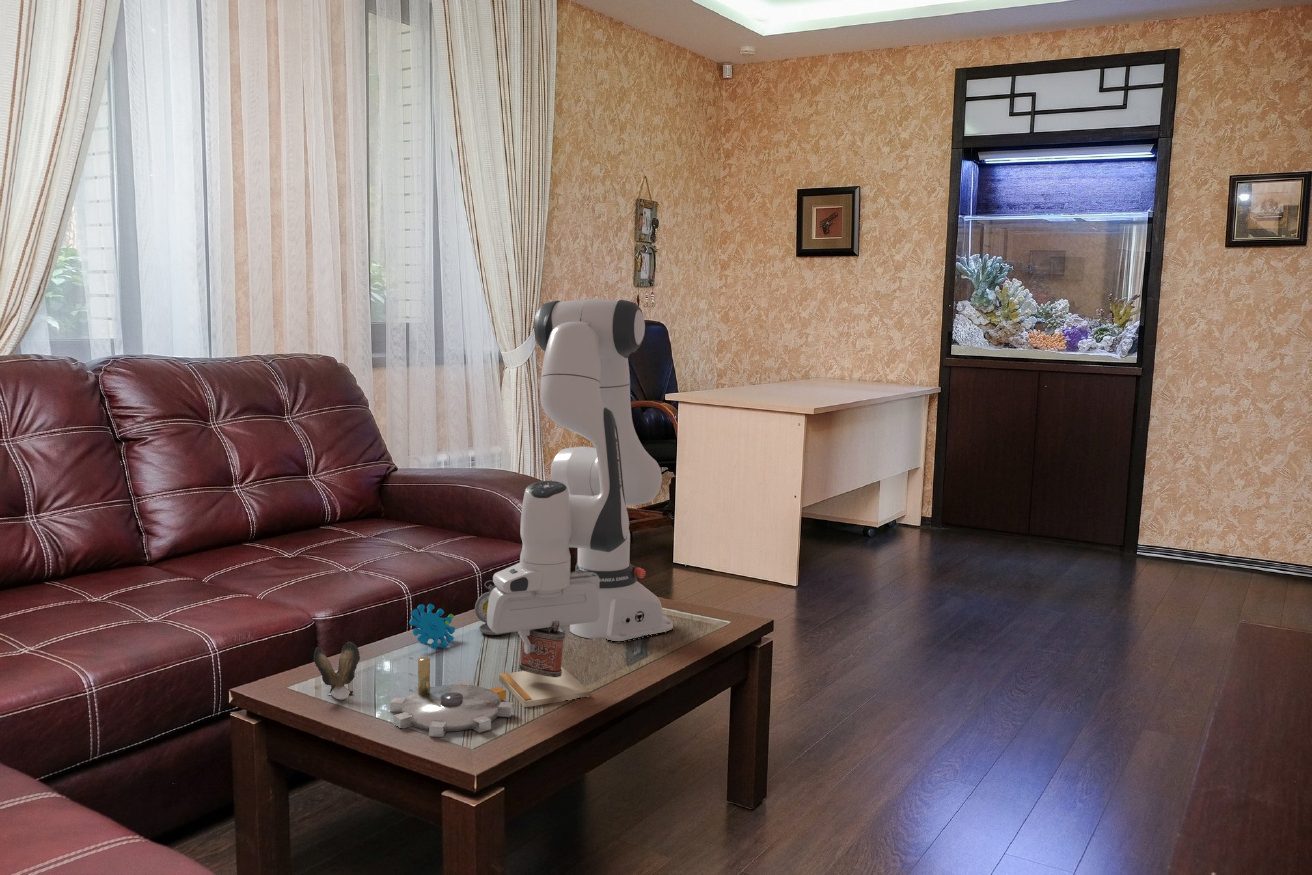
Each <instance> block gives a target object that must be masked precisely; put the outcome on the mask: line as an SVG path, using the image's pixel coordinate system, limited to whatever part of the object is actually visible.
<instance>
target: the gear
mask: <svg viewBox="0 0 1312 875" xmlns="http://www.w3.org/2000/svg"><path fill="white" fill-rule="evenodd" d="M425 609H426V610H427V611H426V612H425ZM434 609H435V605H434V604H432V603H428V605H427V606H425V605H424V604H419V605H418V606H417V608H415V609H413V610H412V611H411V612H410V615H411V616H412V617H411V618H410V620H409V623H408V624H409V625H410V626H414V627H415V628H413V629H412V634H413V635H414V636H415V637H416V636H417V638H416V639H417V641H418V642H421V643H422V644H423V645H426V644H427V643H428V642H429V640H430V639H431V640H433V641H432V642H431V643H430V648H432V649H434V650H436V649H437V648H438V647H440V648H441V649H445V648H447V647H448V645H449V644H450V643H451V642H453V641H454V640H455V637H454V636H453V634H454V633H455V631H456V628H455V627H454V626H452V625H451V626H450V624H451V623H452V621H453V619H454V617H455V616H454V614H452V613H450V614H448V616H447V617H441V616H443V615H444V614H445V610H443V608H438V609H437V611H436V612H435V613H433V612H432V611H434ZM439 640H440V644H439V642H438V641H439Z"/></svg>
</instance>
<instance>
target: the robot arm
mask: <svg viewBox="0 0 1312 875" xmlns="http://www.w3.org/2000/svg"><path fill="white" fill-rule="evenodd" d="M645 329H646V323H645V318H644V315H643V311H642V308H641V307H640V306H639V305H638V304H637V303H636V302H634V301H630V300H626V299H619V300H613V299H605V298H587V299H573V300H564V301H560V300H554V301H553V300H552V301H549V302H545V303H543V304H542V305H541V306H540V307H539V309H537V311H536V312H535V317H534V324H533V331H534V339H535V341H536V344H537V345H538V346H539V348H540V349H541V350H542V351H543V352H544V356H543V360H542V361H543V362H542V366H541V376H540V388H539V389H540V392H539V397H540V404H541V405H540V406H541V408H542V410H543V412H544V413H545V415H546V416H547V417H548V418H549V419H550V420H551V421H552V422H553V423H554V424H556V425H558V426H560V427H562V428H564V429H566V430H568V431H570V432H572V433H574V434H577V435H579V436H581V437H583V438H585V439H586V440H588V441H589V442H590V443H591V444H592V445H593V447H592V446H591V447H589V446H581V445H580V446H573V447H566V448H562V449H561V450H560V451H559V452H558V453H556V455H555V456H554V458H553V460H552V462H551V467H550V478H551V480H540V481H536V482H533V483H531V484H529V485H528V486H526V488H525V490H524V495H523V499H522V506H521V514H520V530H519V531H520V533H519V534H520V538H521V541H522V542H521V543H522V548H521V551H520V556H519V562H517V563H515V564H513V565H511V566H509V567H506V568H505V569H502V570H499V571H497V572H495V573H494V574H493V576H492V582H493V585H496V586H495V587H494V588H493V589H492V591H491V593H490V596H489V601H488V608H487V610H486V611H487V612H486V615H487V625H488V627H489V628H490V629H491V630H492V631H493V632H494V633H496V634H499V633H505V634H507V632H508V633H516V632H518V633H517V634H518V635H519V636H520V639H521V640H522V643H523V642H524V651H525V653H526V654H530V653H535V643H532V642H530V641H529V640H528V638H527V636H529V635H530V630H532V629H540V628H548V627H551V625H552V622H554V621H560V622H559V628H558V629H560V630H559V631H560V632H563V633H565V639H563V649H564V648H565V647H564V645H565V640H566V638H567V637H568V635H569V633H571V634H573V635H575V636H577V637H581V638H585V639H591V640H594V639H601V638H603V639H604V640H605V639H607V640H606V641H608V640H612V641H623V640H627V639H632V638H634V637H640V636H642V635H648V634H650V633H656V632H659V631H664V630H667V629H670V628H673V629H674V624H673V622H672V621H671V619H669V618H668V617H667V616H665V615H664V614H663V613H664V611H663V607H662V603H661V600H660V598H659V597H657V595H656V594H655V593H653V592H651V591H650V590H649V589H648V588H646V586H644V585H643V584H641V583H640V582H639V581H638V580H637V578H639V579H644V578H645V576H646V573H647V572H646V570H645V568H641V567H640V566H639V567H638V566H635V565H633V564H631V563H630V551H631V548H630V547H631V533H630V529H629V527H630V519H629V514H628V509H627V506H628V505H642V504H649V503H651V502H652V501H653V500H654V499H655V498H656V497H657V495H658V494H659V493H660V490H661V487H662V483H663V475H662V472H661V471H662V470H661V467H660V465H659V463H658V462H657V460H656V459H655V458H653V457H652V456H651V455H650V454H649V452H648V451H646V449H645V447H644V446H643V444H642V443H641V441H640V439H639V436H638V434H637V432H636V429H635V426H634V422H633V417H632V416H633V415H632V404H631V403H632V402H631V401H632V400H631V378H630V377H631V375H630V365H629V359H628V358H630V355H631V354H633V353H635V352H636V351H637V350H638V349H639V348H640V347H641V345H642V343H643V340H644V337H645V331H646V330H645ZM570 548H575V549H576V548H577V563H576V564H575V570H574V571H571V557H572V556H571V553H570ZM526 635H527V636H526ZM612 641H611V642H612Z"/></svg>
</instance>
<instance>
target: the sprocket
mask: <svg viewBox="0 0 1312 875" xmlns="http://www.w3.org/2000/svg"><path fill="white" fill-rule="evenodd" d="M414 689H415V692H413V693H411V694H409V695H408V696H407V697H397V696H396V697H395V696H394V697H393V698H392V699H391V701H390V702H389V711H390V713H392V712H393V713H397V714H394V715H393V726H395V725H396V726H398V727H399V728H403V729H406V728H410V727H415V728H416V729H421V730H424V731H428V736H429V737H432V738H433V737H437V738H444V737H445V736H446V733H447V732H460V731H467V730H474V731H475V732H477V733H479V734H481V733H483V732H486V731H489V730H492V722H493V721H494V720H495V719H497V718H498V717H505V718H506V717H507V718H511V716H512V714H513V712H514V702H513V701H511V702H509V701H504V700H506V699H507V690H506V689H504V688H502V687H501V686H495V687H492V688H486V687H482V686H479V685H473V681H472V680H463V679H462V680H459V681H458V682H457V683H456V684H444V685H437V686H432V685H431V658H430V657H428V656H423V657H419V658H418V659H417V685H416V686H415V687H414ZM396 726H395V727H396ZM398 727H397V728H398ZM399 728H398V729H399Z"/></svg>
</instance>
